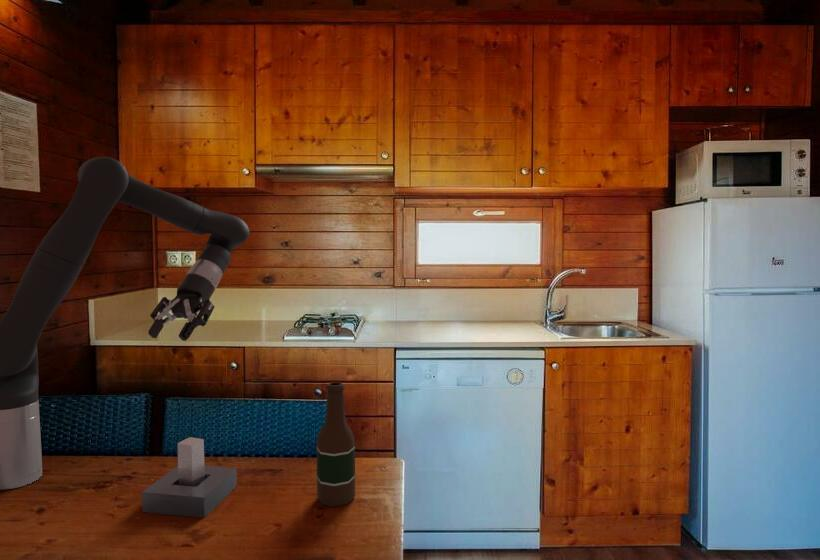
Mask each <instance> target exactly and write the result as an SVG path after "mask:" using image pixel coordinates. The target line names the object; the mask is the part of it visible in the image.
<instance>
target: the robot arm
mask: <svg viewBox="0 0 820 560" xmlns="http://www.w3.org/2000/svg"><path fill="white" fill-rule="evenodd" d="M77 178H78V179H77V181H78V184H77V187H76V189H75V192H74V194H73V195H72V198H71V200H70V202H69V204H68V206H67V208H66V209H65V210H64V212H63V213H62V214H61V216H60V217H59V218H58V219H57V220H56V222H54V224H53V225H52V226H51V228H50V229H49V230H48V232H47V233H45V236H43V238H42V240H41V241H40V243H39V245H38V246H37V248H36V250H35V252H34V253H33V255H32V257H31V258H30V260H29V262H28V264H27V267H26V268H25V271H24V272H23V275H22V277H21V279H20V281H19V284H18V286H17V289H16V291H15V293H14V296H13V299H12V301H11V302H10V305H9V306H8V308H7V310H6V312H5V313H4V315H3V316H2V318H1V319H0V490H11V489H17V488H21V487H25V486H27V484H28V485H30V484H33V483H35V482H37V481H38V480H39V478H40V477H41V476H43V474H42V473H43V459H42V458H43V456H42V441H41V440H42V439H41V438H42V437H41V436H42V435H41V424H40V423H41V421H40V420H41V419H40V404H39V402H40V401H39V386H40V380H39V378H40V377H39V356H38V355H39V353H38V352H39V351H38V342H39V340H40V338H41V335H42V333H43V331H44V328H45V326H46V324H47V323H48V321H49V319H50V318H51V316H52V315H53V313H54V312H55V310H57V308H58V307H59V306H60V304H61V303H62V301H63V300H64V299H65V298H66V296H67V294H68V293H69V292H70V290H71V288H72V287H73V285H74V284H75V282H76V280H77V278H78V277H79V274H80V273H81V271H82V269H83V268H84V265H85V263H86V262H87V259H88V257H89V255H90V253H91V251H92V249H93V246H94V244H95V243H96V240H97V238H98V235H99V232H100V230H101V228H102V226H103V224H104V222H105V220H106V219H107V217H108V216H109V214H110V213H111V212H112V211H113V209H114V207H115V205H116V204H117V203H122V204H125V205H128V206H131V207H133V208H135V209H139V210H141V211H143V212H145V213H147V214H150V215H152V216H154V217H156V218H158V219H161V220H163V221H165V222H166V223H169V224H171V225H173V226H176V227H178V228H180V229H182V230H184V231H187V232H189V233H192V234H194V235H197V236H204V235H207V234H208V235H209V234H210V235H209V237H208V239H207V241H206V243H205V247H204V249H203V250H202V252H201V253H200V255H199V256H198V258H197V259H196V260H195V262H194V263H193V265H192V266H191V267H190V268H189V270H188V271H187V272H186V274H185V275H184V277H183V279H182V281H181V282H180V284H179V285H178V287H177V288H176V296H175V297H173V298H172V299H168V297H166V296H164V297H162V298H161V299H160V301H159V303H157V305H156V307H155V308H154V309H153V311H152V312H151V313H150V315H149V316H150V318H152V319H151V320H153V322H152V324H151V326H150V327H149V329H148V332H147V333H148V335H149V336H150V337H151V339H157V338H158V336H159V335H160V333H161V332H162V329H163V328H164V326H165V325H166V324H167V323H169V322H170V321H171V322H174V321H175V320H176V319H182V318H183V319H185V320H186V319H187V321H186V322H185V323H184V324H183V327H182V328H181V330H180V332H179V334H178V338H179V339H180V340H181V341H182V342H186V341H188V340H189V338H190V337H191V335H192V334H193V332H194V330H195V329H196V328H198V327H199V326H201V327H205V326H206V325H207V323H208V321H209V319H210V317H211V315H212V313H213V311H214V309H215V305H214V303H212V301H211V300H210V299H211V298H212V296H213V294H214V292H215V290H216V289H217V287H218V285H219V283H220V282H221V279H222V277H223V275H224V274H225V271H226V270H227V269H228V266H229V265H230V262H231V259H232V258H231V254H232V252H233V251H234V249H235V248H237V247H238V246H240V245H242V244H243V243H245V242H246V241H247V239H248V238H249V236H250V229H249V227H248V224H247V223H246V222H245V221H244V220H243V219H241V218H240V217H238V216H235V215H233V214H229V213H225V212H222V211H221V212H220V211H218V210H217V211H216V210H211V209H208V208H206V207H204V206H202V205H199V204H197V203H194V202H193V201H191V200H188V199H186V198H183V197H181V196H179V195H176V194H173V193H170V192H167V191H165V190H162V189H159V188H156V187H153V186H151V185H149V184H148V183H145V182H143V181H142V180H139V179H137V178H136V177H134V176H132V175H131V174H129V173H128V171H127V169H126V167H125V165H123V163H121V162H120V161H119V160H117V159H115V158H113V157H108V156H98V157H93V158H90V159H87V160H86V161H85V162H83V163H82V164H81V166H80V167H79V169H78V172H77ZM170 311H171V313H172V314H171V313H170ZM164 317H165V318H164ZM41 478H42V477H41ZM41 478H40V479H41ZM36 480H37V481H36ZM34 481H35V482H34ZM32 482H33V483H32Z"/></svg>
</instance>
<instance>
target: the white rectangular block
mask: <svg viewBox="0 0 820 560" xmlns="http://www.w3.org/2000/svg"><path fill="white" fill-rule="evenodd" d="M177 466H178V476H179V485H181V486H192V487H197V486H198V485H199V484H201V483H202V482H203V481H204V480H205V467H204V466H205V439H203V438H197V437H191V436H190V437H187V438H186V439H184V440H181V441H179V442H177Z"/></svg>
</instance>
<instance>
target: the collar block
mask: <svg viewBox="0 0 820 560" xmlns="http://www.w3.org/2000/svg"><path fill="white" fill-rule="evenodd" d="M204 467H205V480H204V481H203V482H202V483H201V484H199V485H198V486H197V487H192V486H181V485H179V476H178V465H176V467H174V468H173V469H171V470H169V472H167V473H166V474H165V475H163V476H162V477H160V478H159V479H158V480H156V481H155V482H153V483H152V484H151V485H149V486H148V487H147V488H145V489H144V490H143V491H141V506H142V512H143V513H149V514H150V513H151V514H152V513H153V514H159V515H160V514H161V515H170V516H171V515H173V516H182V517H183V516H184V517H193V518H206V517H207V516H208V515H209V514H210V513H211V512H212V511H214V509H216V507H217V506H219V504H220V503H222V501H223V500H225V498H227V497H228V495H230V494H231V491H232V490H233V489H234V488H235V487H236V486H237V487H238V475H237V473H238V472H237V468H236V467H225V466H213V465H212V466H211V465H204ZM237 487H236V488H237ZM236 488H235V489H236ZM233 491H234V490H233Z"/></svg>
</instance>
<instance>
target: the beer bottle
mask: <svg viewBox="0 0 820 560" xmlns="http://www.w3.org/2000/svg"><path fill="white" fill-rule="evenodd" d="M325 389H326V393H327V394H326V412H325V413H326V414H325V420H324V424H323V425H322V426H321V428H320V430H318V431H319V432H318V435H317V437H316V494H317V499H318V501H319V502H320V503H321V505H323V506H325V507H326V506H327V507H331V508H336V507H341V506H347V505H349V504H350V502H352V500H353V499H354V498H355V496H356V495H355V494H356V444H355V436H354V433H353V430H352V429H351V427H350V426H349V425H348V423H347V419H346V412H345V397H344V390H346V389H345V384H343V383H342V382H340V381H334V382H333V381H332V382H329V383H328V384H326V388H325ZM346 504H347V505H346Z"/></svg>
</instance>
